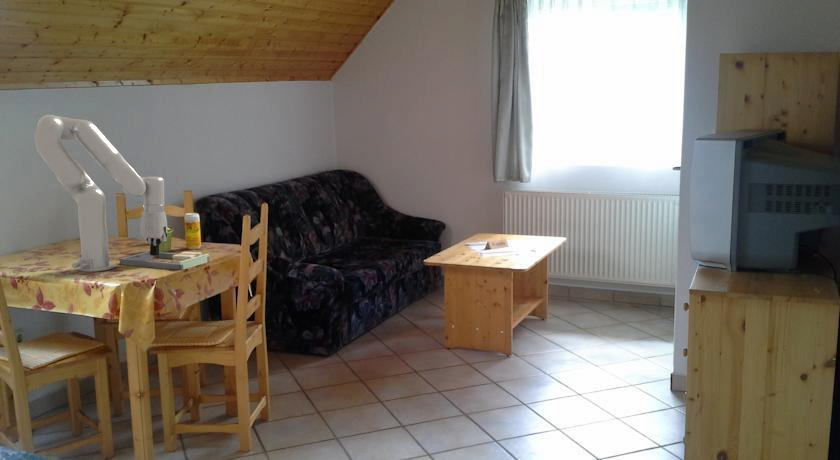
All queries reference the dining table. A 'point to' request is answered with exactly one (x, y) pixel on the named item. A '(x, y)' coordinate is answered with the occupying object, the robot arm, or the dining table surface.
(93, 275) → the dining table surface
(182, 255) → the birch block
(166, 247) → the plant pot
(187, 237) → the beer can
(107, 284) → the dining table surface
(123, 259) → the grey shallow tray
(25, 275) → the dining table surface
